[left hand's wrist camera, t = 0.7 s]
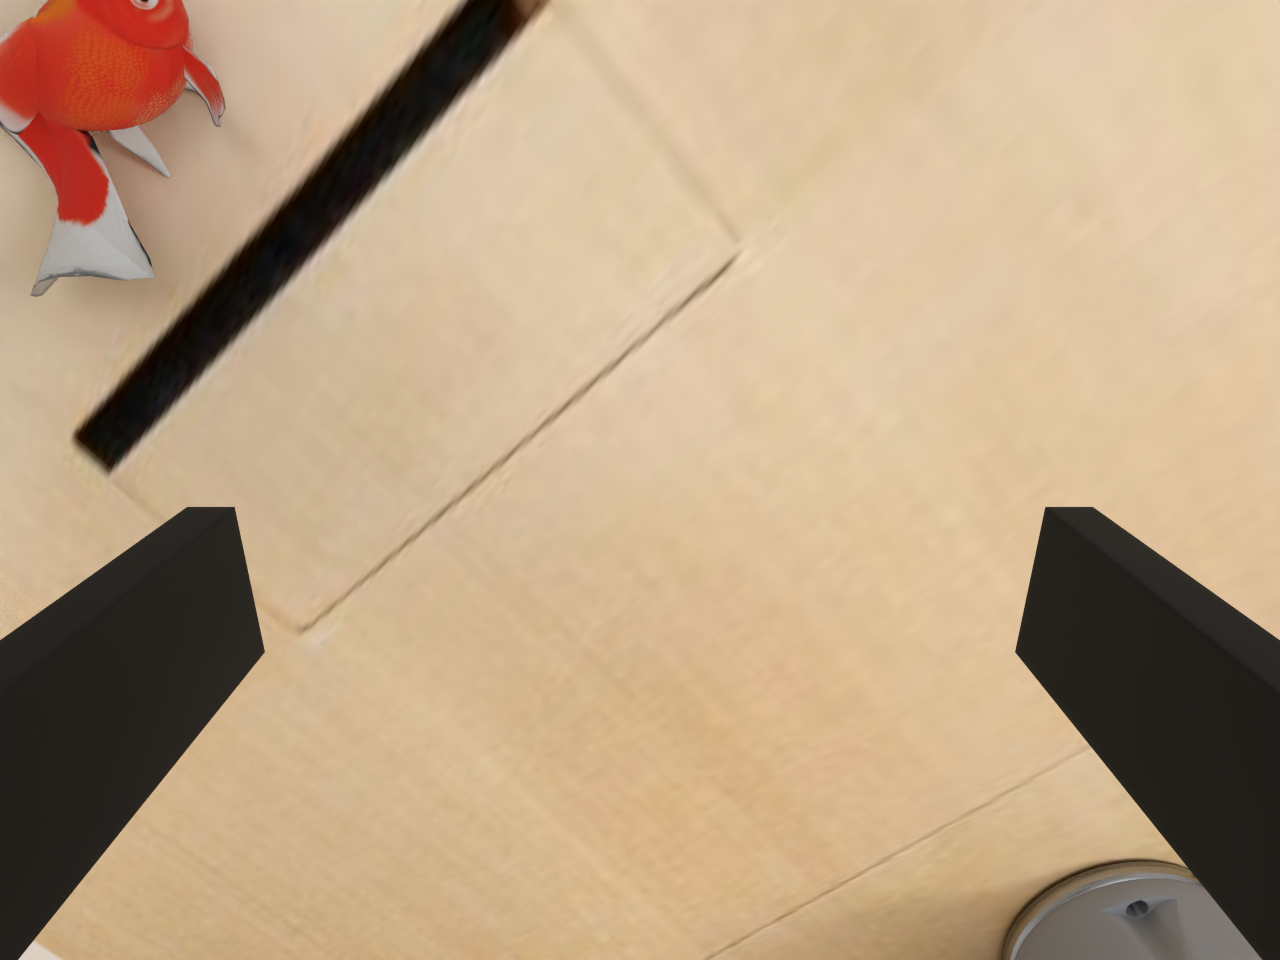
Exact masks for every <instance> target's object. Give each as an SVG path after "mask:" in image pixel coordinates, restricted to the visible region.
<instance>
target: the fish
mask: <svg viewBox="0 0 1280 960" xmlns="http://www.w3.org/2000/svg"><path fill="white" fill-rule="evenodd" d="M184 89H187V90H190V91H193V92H196V93H198V94H199V95H200V96H201V97H202V98H203V100H204V101H205V103H206V104H207V106H208V108H209V111H210V114H211V116H212V119H213V122H214V124H215V125H216V126H218V127H220V125H221V116H222V114H223V112H224V110H225V103H224V98H223V96H222V91H221V88H220V85H219V82H218V80H217V78H216V75H215V73H214V71H213V69H212V67H211V66H210V65H209V64H208V63H207V62H205V61H204V60H202V59H200V58H198V57H197V56H195V55H194V54H193V40H192V35H191V30H190V26H189V19H188V15H187V13H186V10H185V8H184V5H183V3H182V0H49V1H48V2H47V3H45V5H44V6H43V7H42V8H41V9H40V10H39V12H38V14H37V16H36V17H35V18H33V17H32V18H30V19H28V20H26V21H24V22H23V23H21V24H19V25H18V26H16V27H15V28H14V29H12V30H11V31H9V32H8V33H7V34H5V35H4V36H2V37H1V38H0V127H1V128H3V129H4V130H5V131H6V132H7V133H8V134H9V135H10V136H12V137H13V138H14V139H15V140H16V142H17V143H18V144H19V145H20V146H21V147H22V148H23V149H24V150H25V151H26V152H27V153H28V154H29V155H30V156H31V157H32V158H33V160H34V161H35V162H36V163H37V164H38V165H39V166H40V167H41V168H42V169H43V171H44V172H45V174H46V175H47V177H48V179H49V180H50V182H51V183H52V185H53V187H54V189H55V192H56V194H57V197H58V202H59V205H58V209H57V214H56V218H55V223H54V227H53V231H52V234H51V238H50V242H49V245H48V248H47V251H46V254H45V256H44V259H43V261H42V263H41V266H40V270H39V273H38V276H37V279H36V282H35V285H34V287H33V290H32V292H31V296H36V297H37V296H41V295H43V294H44V293H45V292H46V291H47V289H48V288H49V287H50V286H51V285H52V284H53V283H54V282H55V281H56V280H57V279H58V277H73V276H95V277H102V278H109V279H117V280H131V279H144V278H155V275H154V272H153V268H152V265H151V261H150V258H149V256H148V255H147V253H146V251H145V249H144V248H143V246H142V244H141V242H140V241H139V239H138V237H137V235H136V234H135V232H134V230H133V228H132V227H131V225H130V223H129V220H128V218H127V215H126V213H125V211H124V208H123V206H122V203H121V201H120V198H119V196H118V194H117V192H116V189H115V187H114V185H113V182H112V180H111V178H110V175H109V173H108V171H107V169H106V166H105V164H104V162H103V160H102V157H101V155H100V153H99V150H98V148H97V146H96V144H95V141H94V139H93V138H92V136H91V135H90V134H89V133H88V131H103V130H107V132H108V133H109V135H110V136H111V137H112V139H114V140H115V141H116V142H118V143H119V144H120V145H121V146H123V147H125V148H126V149H128V150H129V151H131V152H132V153H134V154H135V155H137V156H138V157H140V158H141V159H143V160H144V161H146V162H147V163H149V164H150V165H151V166H153V167H154V168H155V169H157V170H158V171H159V172H161V173H162V174H163V175H165V176H166V177H171V174H170V172H169V171H168V169H167V167H166V165H165V164H164V162H163V160H162V158H161V157H160V155H159V153H158V152H157V150H156V148H155V147H154V146H153V144H152V143H151V142H150V140H149V139H148V138H147V137H146V135H145V134H144V133H143V132H142V130H141V129H140V128H139V126H138V125H141V124H143V123H146V122H148V121H150V120H152V119H154V118H156V117H158V116H159V115H161V114H162V113H164V112H165V111H166V110H167V109H169V108H170V107H171V106H172V104H173V103H174V102H175V101H176V100H177V99H178V98H179V96H180V95H181V94H182V92H183V90H184Z"/></svg>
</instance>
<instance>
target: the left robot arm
mask: <svg viewBox="0 0 1280 960" xmlns="http://www.w3.org/2000/svg"><path fill="white" fill-rule="evenodd" d="M264 652H265V651H264V646H263V641H262V636H261V632H260V627H259V622H258V617H257V612H256V608H255V603H254V598H253V593H252V588H251V584H250V579H249V574H248V569H247V564H246V560H245V555H244V550H243V545H242V540H241V536H240V531H239V526H238V521H237V516H236V512H235V507H187V508H185V509H184V510H182V511H181V512H180V513H178V514H177V515H175V516H174V517H173V518H171V519H170V520H168V521H167V522H166V523H164V524H163V525H161V526H160V527H159V528H157V529H156V530H154V531H153V532H152V533H150V534H149V535H147V536H146V537H145V538H143V539H142V540H140V541H139V542H138V543H136V544H135V545H133V546H132V547H131V548H129V549H128V550H126V551H125V552H123V553H122V554H121V555H119V556H118V557H116V558H115V559H114V560H112V561H111V562H109V563H108V564H107V565H105V566H104V567H102V568H101V569H100V570H98V571H97V572H95V573H94V574H93V575H91V576H90V577H88V578H87V579H86V580H84V581H83V582H81V583H80V584H79V585H77V586H76V587H74V588H73V589H72V590H70V591H69V592H67V593H66V594H65V595H63V596H62V597H60V598H59V599H58V600H56V601H55V602H53V603H52V604H51V605H49V606H48V607H46V608H45V609H44V610H42V611H41V612H39V613H38V614H37V615H35V616H34V617H32V618H31V619H29V620H28V621H27V622H25V623H24V624H22V625H21V626H20V627H18V628H17V629H15V630H14V631H13V632H11V633H10V634H8V635H7V636H6V637H4V638H3V639H1V640H0V960H18V959H19V958H20V957H21V955H22V954H23V953H24V952H25V950H26V949H27V948H28V947H29V945H30V944H31V943H32V942H33V940H34V939H35V938H36V937H37V935H38V934H39V933H40V932H41V930H42V929H43V928H44V927H45V925H46V924H47V923H48V922H49V920H50V919H51V918H52V917H53V915H54V914H55V913H56V912H57V910H58V909H59V908H60V907H61V905H62V904H63V903H64V902H65V900H66V899H67V898H68V897H69V895H70V894H71V893H72V892H73V890H74V889H75V888H76V887H77V886H78V884H79V883H80V882H81V881H82V879H83V878H84V877H85V876H86V874H87V873H88V872H89V871H90V869H91V868H92V867H93V866H94V864H95V863H96V862H97V861H98V859H99V858H100V857H101V856H102V854H103V853H104V852H105V851H106V849H107V848H108V847H109V846H110V844H111V843H112V842H113V841H114V839H115V838H116V837H117V836H118V834H119V833H120V832H121V831H122V829H123V828H124V827H125V826H126V824H127V823H128V822H129V821H130V819H131V818H132V817H133V816H134V814H135V813H136V812H137V811H138V809H139V808H140V807H141V806H142V804H143V803H144V802H145V801H146V799H147V798H148V797H149V796H150V795H151V793H152V792H153V791H154V790H155V788H156V787H157V786H158V785H159V783H160V782H161V781H162V780H163V778H164V777H165V776H166V775H167V773H168V772H169V771H170V770H171V768H172V767H173V766H174V765H175V763H176V762H177V761H178V760H179V758H180V757H181V756H182V755H183V753H184V752H185V751H186V750H187V748H188V747H189V746H190V745H191V743H192V742H193V741H194V740H195V738H196V737H197V736H198V735H199V733H200V732H201V731H202V730H203V728H204V727H205V726H206V725H207V723H208V722H209V721H210V720H211V718H212V717H213V716H214V715H215V713H216V712H217V711H218V710H219V709H220V707H221V706H222V705H223V704H224V702H225V701H226V700H227V699H228V697H229V696H230V695H231V694H232V692H233V691H234V690H235V689H236V687H237V686H238V685H239V684H240V682H241V681H242V680H243V679H244V677H245V676H246V675H247V674H248V672H249V671H250V670H251V669H252V667H253V666H254V665H255V664H256V662H257V661H258V660H259V659H260V657H261V656H262V655H263V654H264ZM1015 652H1016V654H1017V655H1018V656H1019V657H1020V659H1021V660H1022V661H1023V662H1024V664H1025V665H1026V666H1027V667H1028V669H1029V670H1030V671H1031V672H1032V674H1033V675H1034V676H1035V677H1036V679H1037V680H1038V681H1039V682H1040V684H1041V685H1042V686H1043V687H1044V689H1045V690H1046V691H1047V692H1048V694H1049V695H1050V696H1051V697H1052V699H1053V700H1054V701H1055V702H1056V704H1057V705H1058V706H1059V707H1060V709H1061V710H1062V711H1063V712H1064V713H1065V715H1066V716H1067V717H1068V718H1069V720H1070V721H1071V722H1072V723H1073V725H1074V726H1075V727H1076V728H1077V730H1078V731H1079V732H1080V733H1081V735H1082V736H1083V737H1084V738H1085V740H1086V741H1087V742H1088V743H1089V745H1090V746H1091V747H1092V748H1093V750H1094V751H1095V752H1096V753H1097V755H1098V756H1099V757H1100V758H1101V760H1102V761H1103V762H1104V763H1105V765H1106V766H1107V767H1108V768H1109V770H1110V771H1111V772H1112V773H1113V775H1114V776H1115V777H1116V778H1117V780H1118V781H1119V782H1120V783H1121V785H1122V786H1123V787H1124V788H1125V790H1126V791H1127V792H1128V793H1129V795H1130V796H1131V797H1132V798H1133V799H1134V801H1135V802H1136V803H1137V804H1138V806H1139V807H1140V808H1141V809H1142V811H1143V812H1144V813H1145V814H1146V816H1147V817H1148V818H1149V819H1150V821H1151V822H1152V823H1153V824H1154V826H1155V827H1156V828H1157V829H1158V831H1159V832H1160V833H1161V834H1162V836H1163V837H1164V838H1165V839H1166V841H1167V842H1168V843H1169V844H1170V846H1171V847H1172V848H1173V849H1174V851H1175V852H1176V853H1177V854H1178V856H1179V857H1180V858H1181V859H1182V861H1183V862H1184V863H1185V864H1186V866H1187V867H1188V868H1189V869H1190V871H1191V872H1192V873H1193V874H1194V876H1195V877H1196V878H1197V879H1198V881H1199V882H1200V883H1201V884H1202V886H1203V887H1204V888H1205V889H1206V890H1207V892H1208V893H1209V894H1210V895H1211V897H1212V898H1213V899H1214V900H1215V902H1216V903H1217V904H1218V905H1219V907H1220V908H1221V909H1222V910H1223V912H1224V913H1225V914H1226V915H1227V917H1228V918H1229V919H1230V920H1231V922H1232V923H1233V924H1234V925H1235V927H1236V928H1237V929H1238V930H1239V932H1240V933H1241V934H1242V935H1243V937H1244V938H1245V939H1246V940H1247V942H1248V943H1249V944H1250V945H1251V947H1252V948H1253V949H1254V950H1255V952H1256V953H1257V954H1258V955H1259V957H1260V958H1261V959H1262V960H1280V640H1279V639H1277V638H1276V637H1274V636H1273V635H1272V634H1270V633H1269V632H1267V631H1266V630H1265V629H1263V628H1262V627H1260V626H1259V625H1258V624H1256V623H1255V622H1253V621H1252V620H1250V619H1249V618H1248V617H1246V616H1245V615H1243V614H1242V613H1241V612H1239V611H1238V610H1236V609H1235V608H1234V607H1232V606H1231V605H1229V604H1228V603H1227V602H1225V601H1224V600H1222V599H1221V598H1220V597H1218V596H1217V595H1215V594H1214V593H1213V592H1211V591H1210V590H1208V589H1207V588H1206V587H1204V586H1203V585H1201V584H1200V583H1199V582H1197V581H1196V580H1194V579H1193V578H1192V577H1190V576H1189V575H1187V574H1186V573H1185V572H1183V571H1182V570H1180V569H1179V568H1178V567H1176V566H1175V565H1173V564H1172V563H1171V562H1169V561H1168V560H1166V559H1165V558H1164V557H1162V556H1161V555H1159V554H1158V553H1156V552H1155V551H1154V550H1152V549H1151V548H1149V547H1148V546H1147V545H1145V544H1144V543H1142V542H1141V541H1140V540H1138V539H1137V538H1135V537H1134V536H1133V535H1131V534H1130V533H1128V532H1127V531H1126V530H1124V529H1123V528H1121V527H1120V526H1119V525H1117V524H1116V523H1114V522H1113V521H1112V520H1110V519H1109V518H1107V517H1106V516H1105V515H1103V514H1102V513H1100V512H1099V511H1098V510H1096V509H1095V508H1093V507H1045V512H1044V516H1043V521H1042V526H1041V531H1040V536H1039V540H1038V545H1037V550H1036V555H1035V560H1034V564H1033V569H1032V574H1031V579H1030V584H1029V588H1028V593H1027V598H1026V603H1025V608H1024V612H1023V617H1022V622H1021V627H1020V632H1019V636H1018V641H1017V646H1016V651H1015Z"/></svg>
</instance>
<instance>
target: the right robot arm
mask: <svg viewBox="0 0 1280 960" xmlns="http://www.w3.org/2000/svg"><path fill="white" fill-rule="evenodd" d="M1003 960H1261V958H1260V957H1259V955H1258V954H1257V953H1256V952H1255V950H1254V949H1253V948H1252V947H1251V945H1250V944H1249V943H1248V942H1247V940H1246V939H1245V938H1244V937H1243V935H1242V934H1241V933H1240V932H1239V930H1238V929H1237V928H1236V927H1235V925H1234V924H1233V923H1232V922H1231V920H1230V919H1229V918H1228V917H1227V915H1226V914H1225V913H1224V912H1223V910H1222V909H1221V908H1220V907H1219V905H1218V904H1217V903H1216V902H1215V900H1214V899H1213V898H1212V897H1211V895H1210V894H1209V893H1208V892H1207V890H1206V889H1205V888H1204V887H1203V886H1202V884H1201V883H1200V882H1199V881H1198V879H1197V878H1196V877H1195V876H1194V874H1193V873H1192V872H1191V871H1190V870H1189V869H1186V868H1183V867H1180V866H1176V865H1172V864H1166V863H1160V862H1125V863H1118V864H1112V865H1107V866H1102V867H1099V868H1095V869H1092V870H1089V871H1086V872H1083V873H1080V874H1078V875H1075V876H1073V877H1071V878H1069V879H1067V880H1065V881H1063V882H1061V883H1059V884H1057V885H1055V886H1054V887H1052V888H1051V889H1049V890H1047V891H1046V892H1045V893H1043V894H1042V895H1041V896H1039V897H1038V898H1037V899H1036V900H1035V901H1033V902H1032V903H1031V904H1030V905H1029V906H1028V907H1027V908H1026V909H1025V910H1024V911H1023V913H1022V914H1021V915H1020V916H1019V917H1018V919H1017V920H1016V922H1015V923H1014V925H1013V926H1012V928H1011V930H1010V932H1009V934H1008V936H1007V939H1006V942H1005V946H1004V950H1003Z"/></svg>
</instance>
